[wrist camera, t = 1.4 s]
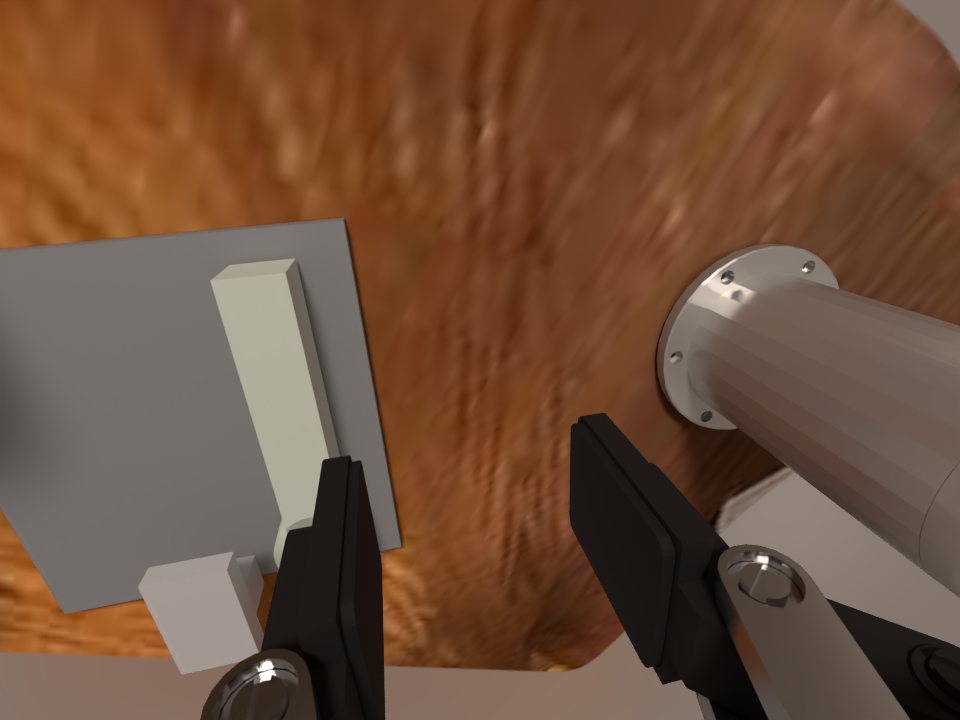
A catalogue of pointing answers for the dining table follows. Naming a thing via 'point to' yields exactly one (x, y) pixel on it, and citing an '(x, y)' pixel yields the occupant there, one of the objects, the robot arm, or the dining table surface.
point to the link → (279, 381)
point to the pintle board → (165, 424)
